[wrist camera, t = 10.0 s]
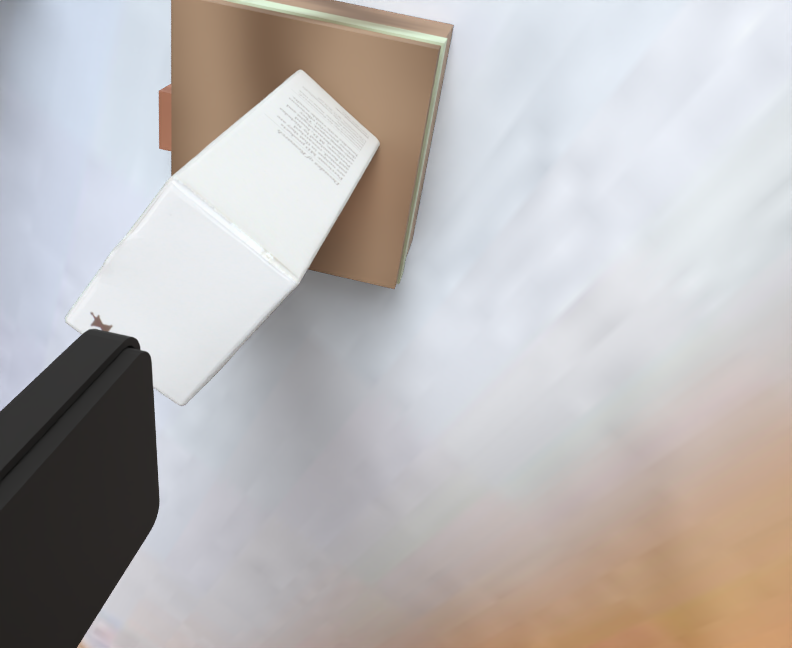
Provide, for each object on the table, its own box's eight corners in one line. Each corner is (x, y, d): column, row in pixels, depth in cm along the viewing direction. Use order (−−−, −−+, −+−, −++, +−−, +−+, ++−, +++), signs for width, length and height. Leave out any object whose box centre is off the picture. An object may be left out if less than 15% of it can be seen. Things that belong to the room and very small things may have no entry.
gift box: (456, 22, 31) (442, 47, 27) (413, 242, 36) (396, 291, 32) (205, -29, 32) (152, -13, 27) (200, 194, 37) (156, 236, 33)
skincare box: (296, 241, 32) (179, 415, 22) (215, 173, 31) (53, 322, 21) (388, 140, 29) (302, 287, 19) (302, 61, 28) (164, 171, 18)
